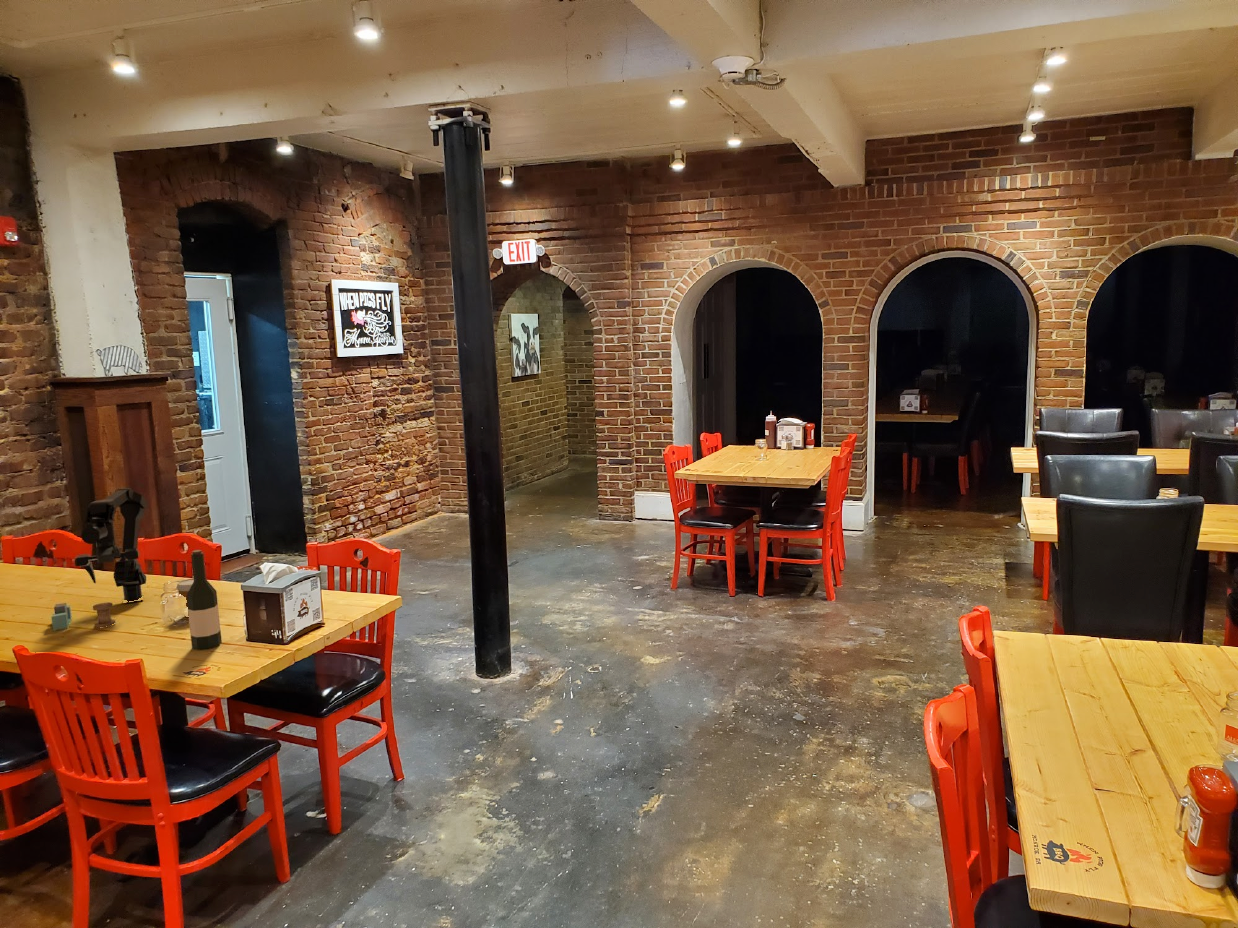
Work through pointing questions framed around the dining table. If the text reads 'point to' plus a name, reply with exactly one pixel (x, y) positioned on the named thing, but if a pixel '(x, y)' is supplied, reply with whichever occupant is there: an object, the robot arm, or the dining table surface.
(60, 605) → the grey upright block
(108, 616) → the spool
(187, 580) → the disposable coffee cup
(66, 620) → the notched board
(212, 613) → the wine bottle
